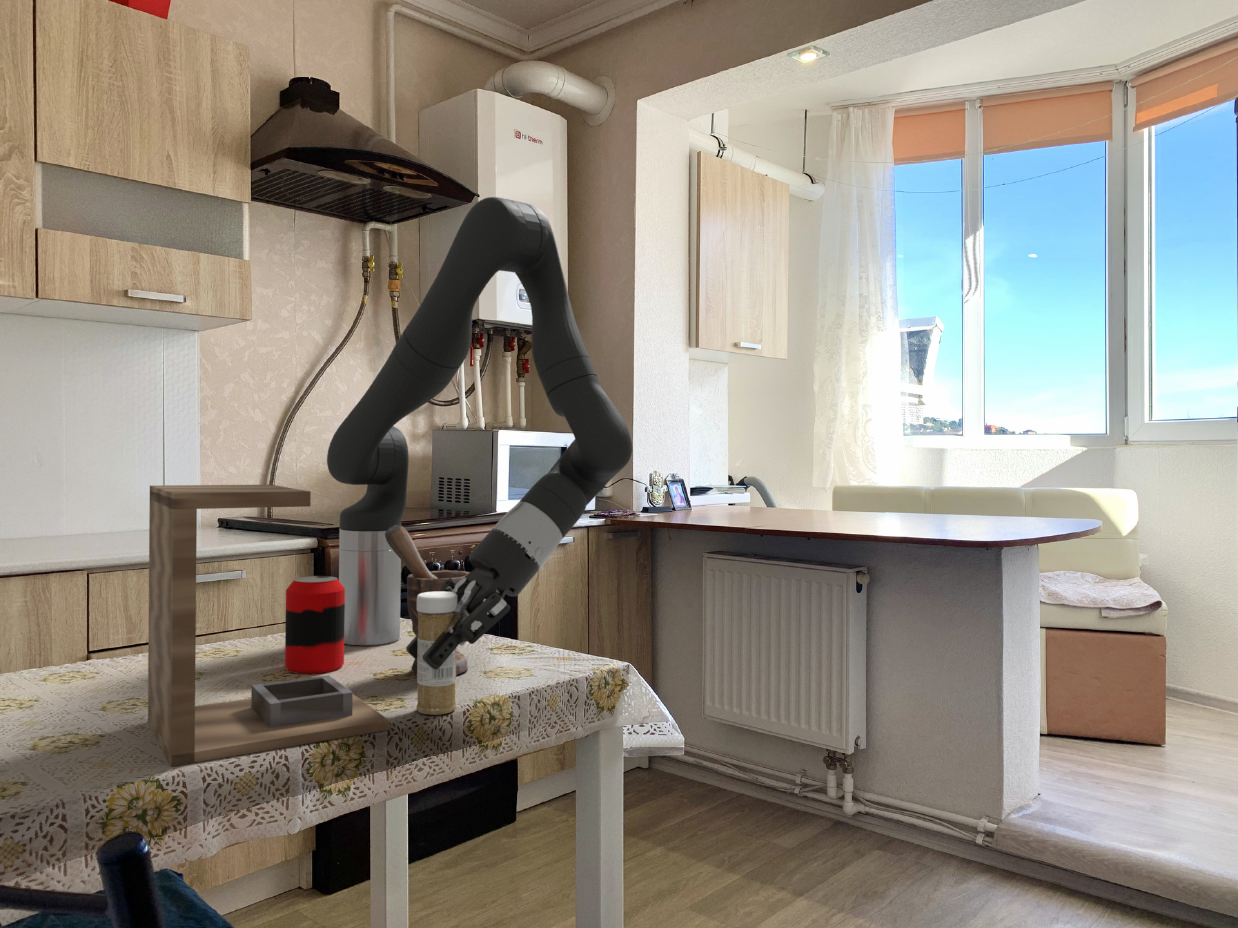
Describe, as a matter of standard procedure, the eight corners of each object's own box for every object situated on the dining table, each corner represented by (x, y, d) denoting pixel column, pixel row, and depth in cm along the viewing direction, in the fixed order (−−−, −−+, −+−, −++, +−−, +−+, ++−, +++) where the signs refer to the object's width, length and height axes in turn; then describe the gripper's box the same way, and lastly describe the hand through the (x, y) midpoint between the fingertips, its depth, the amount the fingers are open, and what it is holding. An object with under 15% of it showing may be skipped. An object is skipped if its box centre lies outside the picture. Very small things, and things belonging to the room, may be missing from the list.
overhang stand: (147, 721, 97) (149, 485, 97) (342, 694, 109) (344, 483, 109) (171, 766, 84) (173, 493, 84) (389, 729, 96) (392, 490, 96)
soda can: (352, 661, 126) (353, 575, 125) (329, 675, 118) (331, 584, 118) (300, 659, 126) (301, 574, 126) (274, 673, 119) (275, 582, 119)
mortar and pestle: (422, 688, 113) (424, 528, 112) (374, 677, 117) (376, 524, 117) (483, 669, 122) (486, 522, 122) (437, 660, 127) (439, 519, 127)
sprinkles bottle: (454, 703, 106) (456, 589, 106) (457, 714, 102) (459, 596, 101) (414, 705, 105) (416, 590, 105) (416, 717, 100) (417, 597, 100)
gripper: (471, 522, 113) (375, 627, 106) (526, 532, 101) (422, 651, 95) (508, 561, 116) (417, 667, 109) (566, 576, 104) (468, 694, 98)
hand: (420, 659), depth 102 cm, fingers closed on sprinkles bottle, 4 cm apart
